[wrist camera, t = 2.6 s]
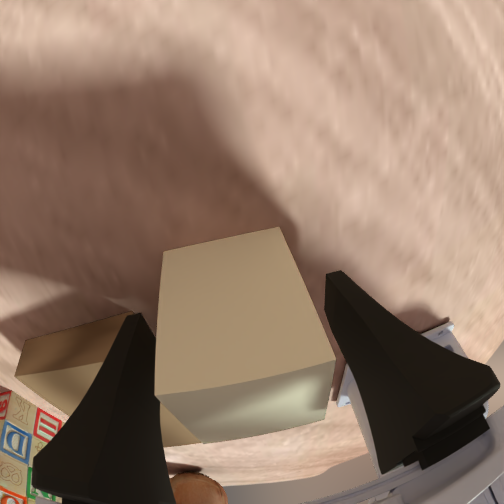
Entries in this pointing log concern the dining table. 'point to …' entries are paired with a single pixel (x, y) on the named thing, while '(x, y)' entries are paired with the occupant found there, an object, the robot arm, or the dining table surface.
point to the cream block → (239, 339)
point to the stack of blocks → (22, 447)
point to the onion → (197, 489)
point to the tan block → (81, 370)
